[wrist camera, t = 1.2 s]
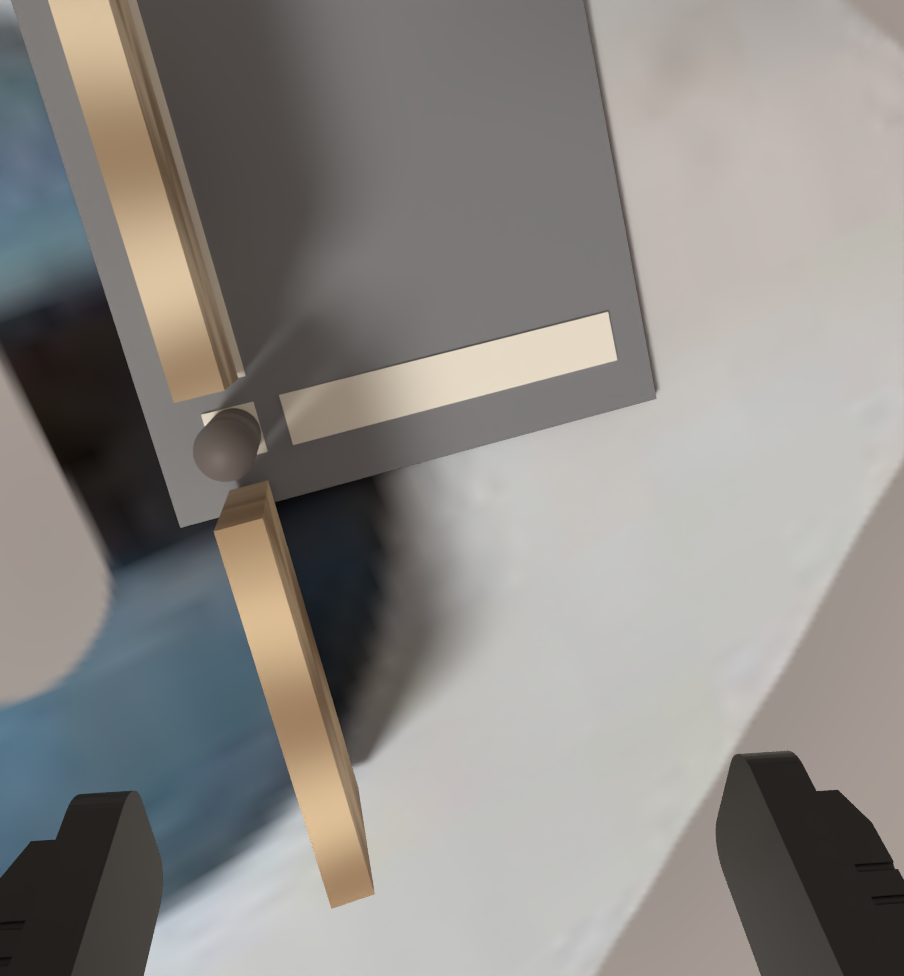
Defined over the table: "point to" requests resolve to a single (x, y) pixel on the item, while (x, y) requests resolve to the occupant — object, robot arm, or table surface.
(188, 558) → the table surface
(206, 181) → the card
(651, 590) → the table surface
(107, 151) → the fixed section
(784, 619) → the table surface
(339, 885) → the folding section
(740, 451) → the table surface
